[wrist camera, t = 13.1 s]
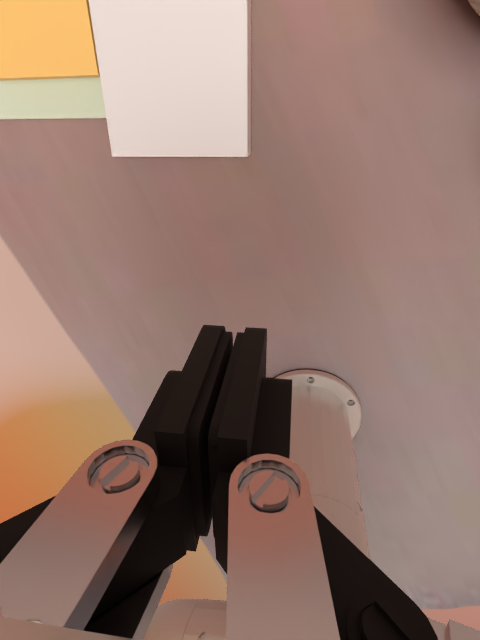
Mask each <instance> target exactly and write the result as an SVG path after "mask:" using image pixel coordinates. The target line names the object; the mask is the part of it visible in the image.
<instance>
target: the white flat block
mask: <svg viewBox="0 0 480 640" xmlns="http://www.w3.org/2000/svg"><path fill="white" fill-rule="evenodd" d="M89 7H90V14H91V20H92V27H93V33H94V40H95V46H96V53H97V59H98V66H99V73H100V79H101V86H102V92H103V99H104V105H105V112H106V119H107V125H108V132H109V138H110V145H111V151H112V157H248V156H249V155H250V154H251V0H89Z"/></svg>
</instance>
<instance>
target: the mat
mask: <svg viewBox="0 0 480 640" xmlns="http://www.w3.org/2000/svg"><path fill="white" fill-rule="evenodd" d="M61 118H106V112H105V105H104V99H103V92H102V86H101V79H100V77H91V78H63V79H35V80H7V81H1V80H0V119H61Z"/></svg>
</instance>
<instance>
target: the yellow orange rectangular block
mask: <svg viewBox="0 0 480 640" xmlns="http://www.w3.org/2000/svg"><path fill="white" fill-rule="evenodd" d="M91 77H100V73H99V66H98V59H97V53H96V46H95V40H94V33H93V27H92V20H91V14H90V7H89V0H0V80H1V81H7V80H35V79H63V78H91Z"/></svg>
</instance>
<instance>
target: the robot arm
mask: <svg viewBox="0 0 480 640" xmlns="http://www.w3.org/2000/svg"><path fill="white" fill-rule="evenodd" d="M266 344H267V329H264V328H247V327H246V329H245V332H244V333H241V332H238V333H237V336H236V339H235V342H234V346H233V337H232V332H225V327H224V326H213V325H203V327H202V329H201V331H200V333H199V335H198V338H197V340H196V342H195V344H194V346H193V348H192V350H191V353H190V355H189V357H188V359H187V361H186V363H185V366H184V368H183V370H182V371H172V370H171V371H169V372H168V373H167V374H166V376H165V378H164V380H163V382H162V384H161V386H160V388H159V389H158V391H157V393H156V395H155V397H154V399H153V401H152V403H151V405H150V407H149V409H148V411H147V413H146V415H145V416H144V418H143V420H142V422H141V424H140V426H139V428H138V430H137V432H136V434H135V436H134V438H133V440H122V441H115V442H113V443H110V444H107V445H104V446H103V447H102V448H99V449H98V450H96V451H94V453H92V454H91V455H90V456H89V457H88V458H87V459H86V460H85V461H84V463H83V464H82V465H81V466H80V467H79V469H78V470H77V471H76V472H75V474H74V475H73V476H72V477H71V478H70V480H69V481H68V482H67V483H66V485H65V486H64V487H63V488H62V489H61V491H60V492H59V493H58V494H57V495H56V496H55V497H52V498H50V499H48V500H46V501H44V502H43V503H40V504H38V505H36V506H34V507H32V508H31V509H29V510H27V511H25V512H23V513H21V514H19V515H17V516H15V517H13V518H11V519H9V520H7V521H5V522H3V523H1V524H0V640H480V631H478V630H476V629H473V628H471V627H468V626H465V625H463V624H460V623H457V622H455V621H452V620H449V622H448V624H447V625H445V624H443V623H440V622H437V621H435V620H432V619H430V618H427V617H426V615H425V614H424V613H423V612H422V611H421V610H420V608H419V607H418V606H417V605H416V604H415V603H414V602H413V601H412V600H411V599H410V598H409V597H408V596H407V595H406V594H405V593H404V592H403V591H402V590H401V589H400V588H399V587H398V586H397V585H396V584H395V583H394V582H393V581H392V580H391V579H390V578H388V577H387V576H386V575H385V574H384V573H383V572H382V571H381V570H380V569H379V568H378V567H377V566H376V565H375V564H374V563H373V562H372V561H371V560H370V555H369V549H368V543H367V536H366V529H365V523H364V516H363V510H362V503H361V496H360V490H359V483H358V477H357V470H356V464H355V457H354V450H353V444H352V438H353V437H354V436H355V435H356V433H357V432H358V430H359V427H360V424H361V418H362V412H361V407H360V403H359V400H358V397H357V396H356V394H355V392H354V391H353V390H352V389H351V387H350V386H349V385H348V384H347V383H345V382H344V381H342V380H341V379H339V378H338V377H336V376H333V375H331V374H329V373H325V372H322V371H316V370H296V371H291V372H287V373H284V374H282V375H279V376H277V377H276V378H266ZM212 518H213V533H214V538H215V548H216V559H217V561H218V562H219V563H220V565H221V566H222V568H223V569H224V571H225V572H226V574H227V601H224V600H208V599H176V600H171V601H168V602H165V603H163V604H161V605H159V606H158V604H159V602H160V599H161V597H162V595H163V592H164V590H165V588H166V585H167V583H168V581H169V578H170V575H171V572H172V568H173V563H174V562H176V561H177V560H179V559H180V558H181V557H183V556H184V555H185V554H186V551H187V550H189V551H196V548H197V544H198V540H199V536H206V537H207V536H208V533H209V529H210V524H211V520H212ZM157 606H158V607H157Z"/></svg>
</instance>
